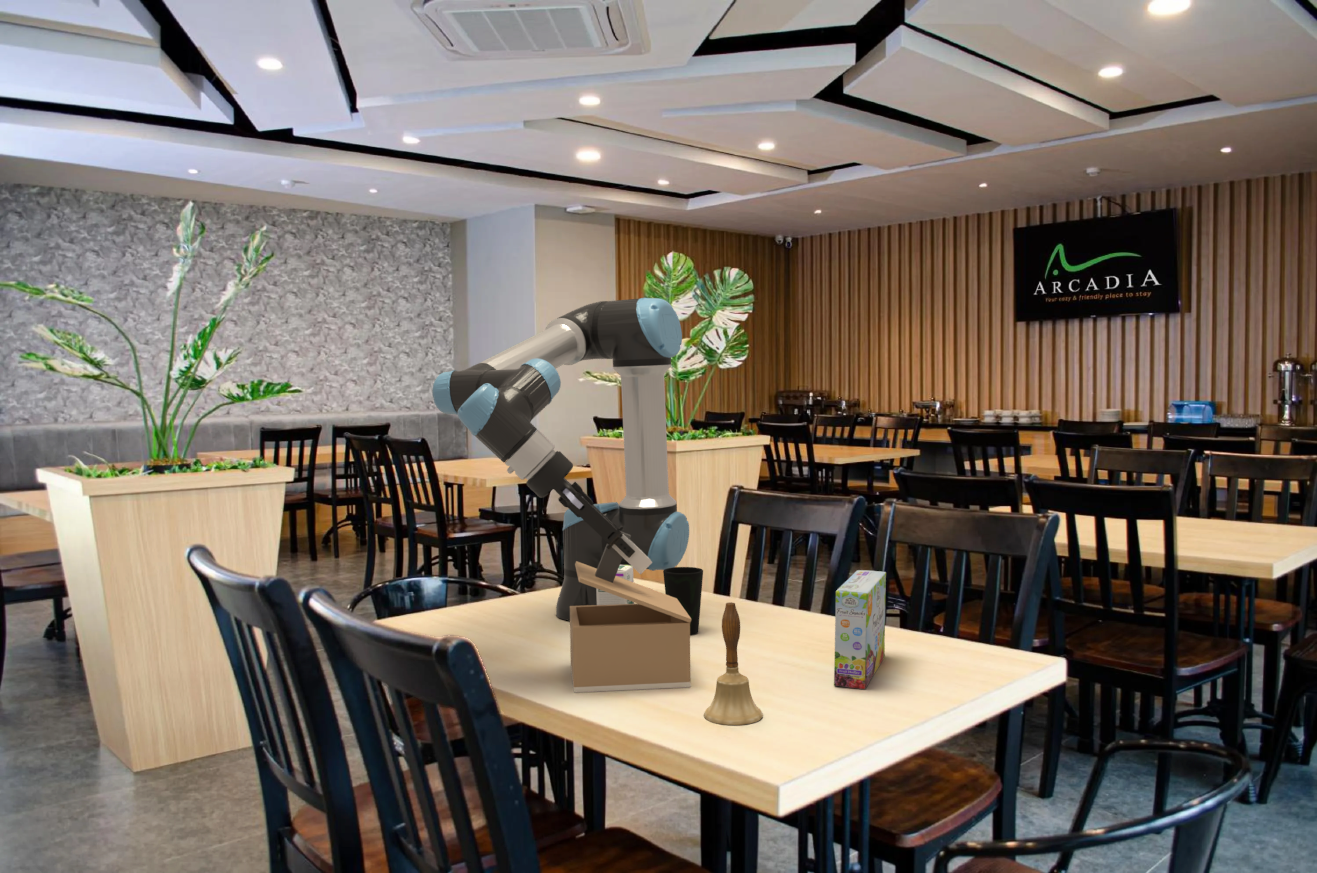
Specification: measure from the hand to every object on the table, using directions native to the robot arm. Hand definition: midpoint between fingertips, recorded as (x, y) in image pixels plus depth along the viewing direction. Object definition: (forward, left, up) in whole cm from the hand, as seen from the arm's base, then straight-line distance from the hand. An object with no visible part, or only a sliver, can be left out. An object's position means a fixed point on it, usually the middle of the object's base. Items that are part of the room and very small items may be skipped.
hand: (645, 566), depth 159 cm
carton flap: (+2, -1, -4) cm, 5 cm away
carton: (+3, -1, -18) cm, 18 cm away
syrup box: (-5, -19, -18) cm, 27 cm away
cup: (-21, -21, -18) cm, 35 cm away
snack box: (-30, +18, -18) cm, 39 cm away
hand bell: (+1, +25, -18) cm, 30 cm away
